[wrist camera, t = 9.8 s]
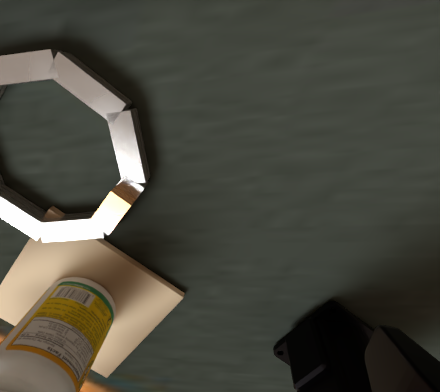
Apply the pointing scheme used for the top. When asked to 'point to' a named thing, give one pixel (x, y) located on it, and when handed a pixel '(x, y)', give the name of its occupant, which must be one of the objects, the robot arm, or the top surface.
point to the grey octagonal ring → (121, 136)
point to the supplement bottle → (57, 338)
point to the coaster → (98, 272)
